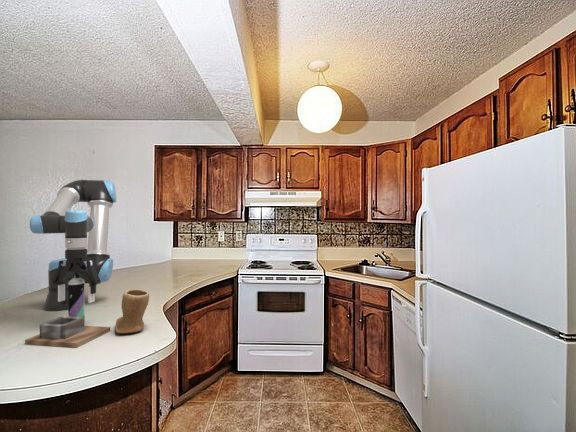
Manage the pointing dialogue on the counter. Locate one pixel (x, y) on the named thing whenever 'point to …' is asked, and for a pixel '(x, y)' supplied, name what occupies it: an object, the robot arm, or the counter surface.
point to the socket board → (72, 339)
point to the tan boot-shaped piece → (132, 311)
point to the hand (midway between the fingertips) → (76, 301)
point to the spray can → (76, 297)
